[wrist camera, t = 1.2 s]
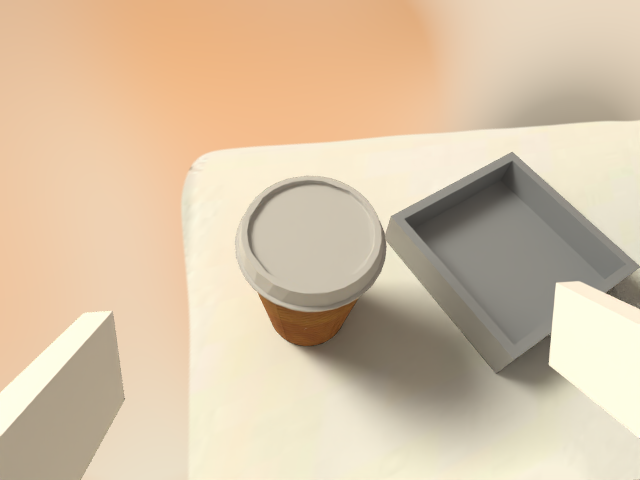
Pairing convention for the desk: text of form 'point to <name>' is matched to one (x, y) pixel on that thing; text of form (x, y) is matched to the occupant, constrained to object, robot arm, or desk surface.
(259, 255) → the disposable coffee cup
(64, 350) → the robot arm
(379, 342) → the desk surface
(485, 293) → the charcoal tray
